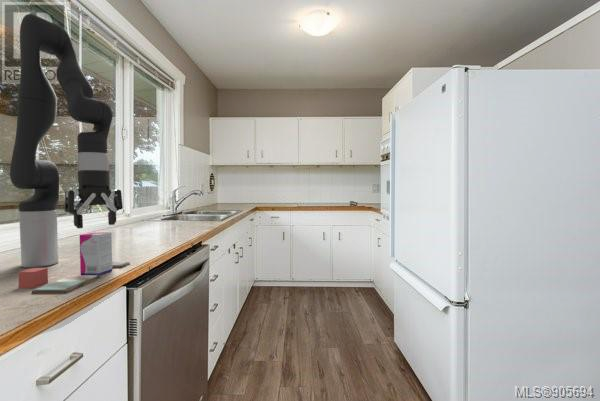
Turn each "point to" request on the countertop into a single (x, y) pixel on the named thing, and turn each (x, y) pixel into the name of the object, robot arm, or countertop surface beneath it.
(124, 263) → the track
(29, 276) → the cube
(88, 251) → the supplement box
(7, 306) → the countertop surface
